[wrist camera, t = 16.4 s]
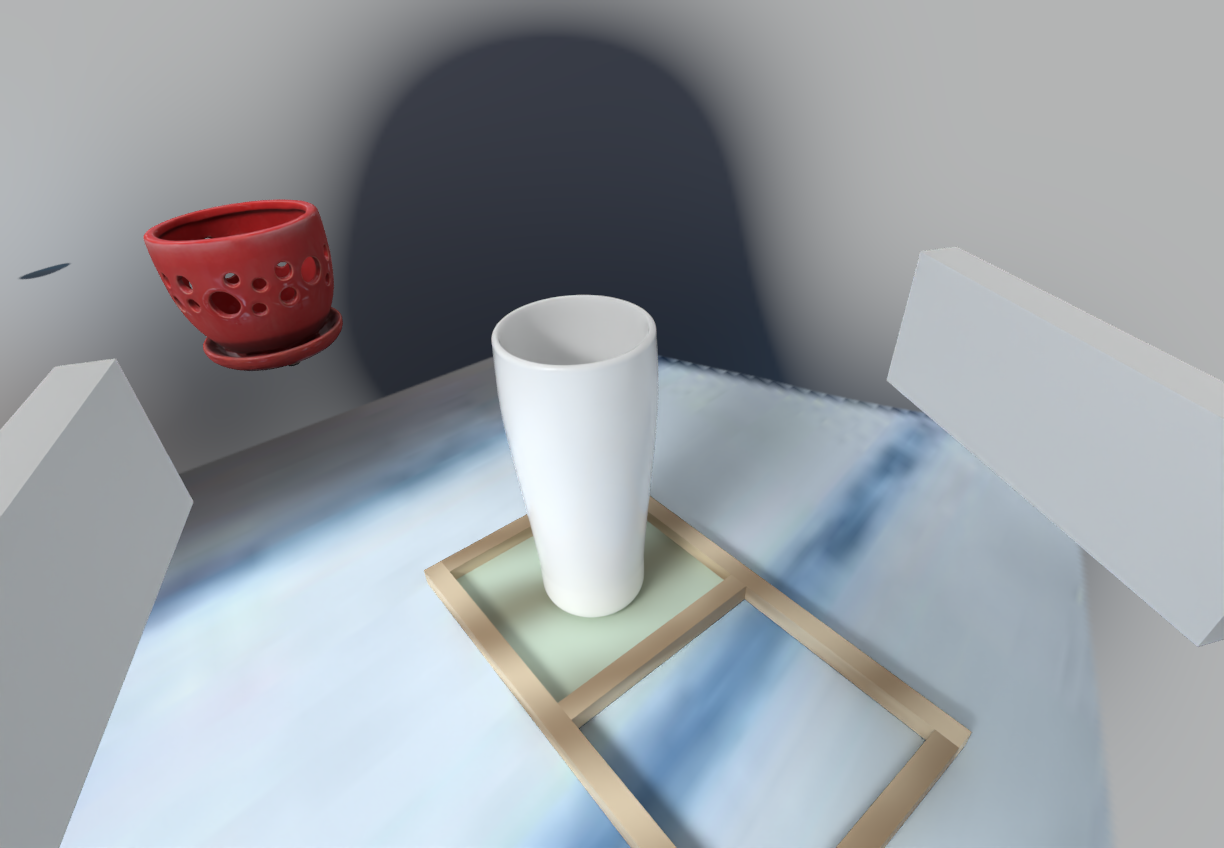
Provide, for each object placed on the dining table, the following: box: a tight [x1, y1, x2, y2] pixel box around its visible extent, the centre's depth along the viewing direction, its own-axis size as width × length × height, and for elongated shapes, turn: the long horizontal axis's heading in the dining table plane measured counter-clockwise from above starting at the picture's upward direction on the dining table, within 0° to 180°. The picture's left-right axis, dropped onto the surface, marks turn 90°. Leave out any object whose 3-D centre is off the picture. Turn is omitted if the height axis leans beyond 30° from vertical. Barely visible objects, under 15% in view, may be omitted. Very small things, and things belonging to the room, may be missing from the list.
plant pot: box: [144, 200, 343, 371], centre depth 56 cm, size 13×13×12 cm
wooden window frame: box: [424, 496, 972, 848], centre depth 31 cm, size 23×13×1 cm, turn 39°
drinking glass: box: [491, 295, 658, 618], centre depth 30 cm, size 7×7×15 cm
